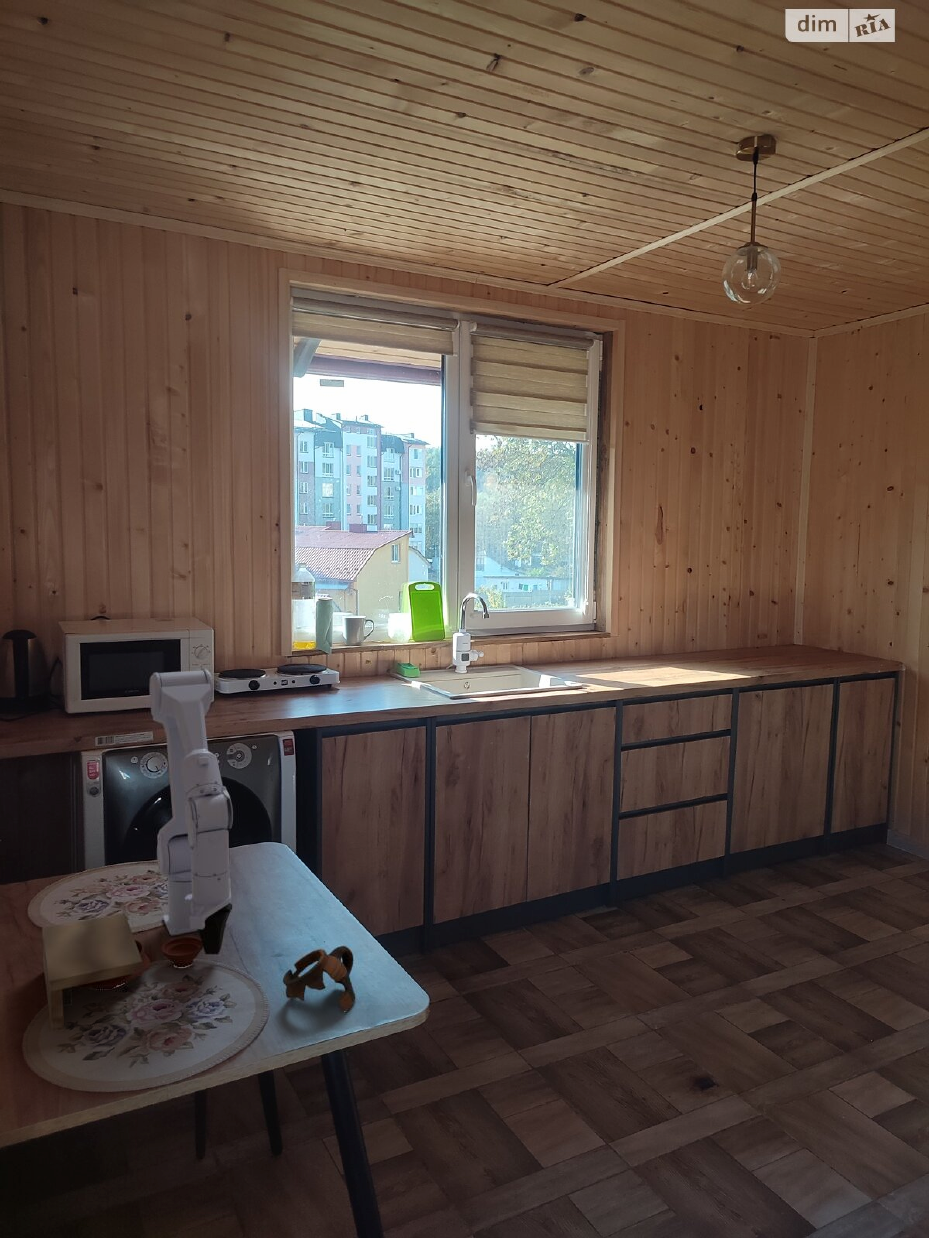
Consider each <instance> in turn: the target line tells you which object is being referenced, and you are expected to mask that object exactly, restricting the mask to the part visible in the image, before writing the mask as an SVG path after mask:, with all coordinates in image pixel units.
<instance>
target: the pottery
mask: <svg viewBox="0 0 929 1238" xmlns="http://www.w3.org/2000/svg"><path fill="white" fill-rule="evenodd" d="M134 940H135V943H136V945H137V948H138V951H139V954H140V956H141V959H142V967H143V972H138V973H133V974H129V975H124V976H120V977H115V978H110V979H106V980H101V981H96V982H92V983H87V984H83V985H78V986H77V987H79V988H84V989H91V990H95V989H97V990H96V991H105V990H104V989H111V990H113V989H112V988H114V987H116V986H117V985H121V984H123V983H125V984H127V983H128V982H130V981H133V980H135V979H136V978H138V977H140V976H142V975H143V974H144V973H145V972H146V971H147V970H148V968H149V966H150V964H151V960H150V958H149V956H148V955H147V954H146V953H145V952H144V951H145V947H144V945H143V943H142V942H141V941H139V940H137V939H134ZM203 949H204V948H203V945H202V941H201V938H200V937H196V936H181V937H176V938H173V939H170V940H168V941H165V943H164V944H163V945H162V946H161V952H162V954H163V955H164V956H165V957H166V958H167V959H168V960H169V962H172V963H173V966H174V965H175V966H177V967H185V966H188V965H191V964H192V963H193V964H194V960H195V959H196V958H197V957H198V955H199V954H200V953H201V952H202V950H203ZM126 982H127V983H126ZM100 989H101V990H100ZM102 989H103V990H102Z"/></svg>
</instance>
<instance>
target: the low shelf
mask: <svg viewBox="0 0 929 1238" xmlns="http://www.w3.org/2000/svg"><path fill="white" fill-rule="evenodd" d="M41 932H42V933H41V934H42V956H43V975H44V980H45V981H44V982H45V988H46V989H45V990H46V999H47V1005H48V1013H49V1019H50V1027H51V1030H57V1029H61V1028H63V1027H65V1026H64V1008H63V1007H65V1006H70V1005H72V1004H73V1001H72V1000H73V999H72V987H79V986H78V985H83V984H87V983H92V982H96V981H101V980H106V979H110V978H115V977H120V976H124V975H129V974H133V973H138V972H143V967H142V959H141V956H140V954H139V951H138V948H137V945H136V943H135V940H136V939H135V937H134V934H133V932H132V929H131V926H130V924H129V921H128V918H127V916H126V913H125V912H121V913H117V914H112V915H106V916H102V917H96V918H91V919H85V920H80V921H75V922H69V923H63V924H58V925H54V926H47V927H42V928H41Z"/></svg>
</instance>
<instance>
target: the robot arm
mask: <svg viewBox="0 0 929 1238" xmlns="http://www.w3.org/2000/svg"><path fill="white" fill-rule="evenodd" d="M213 681H214V680H213V676H212V673H211V672H210V671H209V670H208V669H207V668H206V669H205V668H203V669H201V670H200V669H199V670H188V671H187V670H186V671H171V672H153V673H152V675H150V678H149V699H150V712H151V716H152V720H153V721H154V722H157V723H160V724H162V725H163V729H164V732H165V736H166V746H167V749H166V750H167V760H168V773H169V784H170V785H169V786H170V788H169V789H170V797H171V811H172V812H171V813H172V818H171V819H170V820H169V821H168V822H167V823H166V824H164V825H163V826H162V828H160V829H159V830H158V833H157V847H156V860H157V867H158V871H159V874H160V875H162V876H163V877H164V878H165V877H166V879H167V903H168V904H167V906H168V907H167V908H168V909H167V910H168V914H164V915H163V916H162V919H163V922H164V924H165V927H166V928H167V930H168V932H169V935H171V936H178V935H183V934H188V933H192V932H197V933H198V935H199V938H200V939H201V941H202V945H203V948H202V949H203V950H204V954H205V955H219V953H220V952H221V950H222V945H223V941H224V940H223V939H224V934H225V929H226V925H228V918H229V916H230V914H231V912H232V910H233V904H232V903H231V901H232V892H231V890H232V882H231V881H232V880H231V878H230V848H229V847H230V846H229V843H230V842H229V829H232V827H233V821H234V820H233V819H234V812H233V804H232V800H231V796H230V794H229V792H228V790H227V787H226V786H224V785H223V781H222V780H223V779H222V776H221V772H220V766H219V761H218V757H217V755H216V754H214V753H213V752H211V751H209V748H208V747H209V745H208V740H207V739H208V738H207V728H206V719H205V717H206V715H207V713H208V711H209V710H210V706H211V703H212V701H213V699H214V682H213ZM185 834H187V835H186V836H179V835H185ZM175 836H179V837H175Z"/></svg>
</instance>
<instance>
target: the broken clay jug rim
mask: <svg viewBox="0 0 929 1238" xmlns="http://www.w3.org/2000/svg"><path fill="white" fill-rule="evenodd" d="M314 963H315V964H314ZM311 965H313V966H312V967H311V968H310V969H309V970H308V971H306V972H305V973H303V971H305V970H306V968H308V967H309V966H311ZM293 966H294V968H295V971H294V972H293V971H292V969H288V970H287V972H285V975H283V978H282V982H283V984H284V985H285V996H286V998H287V999H295V998H298V1000H300V1001H301V1002H305V992H306V988H309V989H311V990H317V991H323V990H325V989H326V987H327V986H326V985H325V983H324V973H326V975H328V976H329V978H330V979H331V980H333V981H334V983H336V984H340V985H342V986H343V988H344V989H343V990H344V991H343V994H341V996H340V998H338V1000H337V1002H338V1004H339V1006H341V1010H342V1012H343V1011H346V1010H347V1011H348V1009H351V1007H352V1006H353V1004H354V1002H355V1000H356V994H355V991H354V987H353V985H352V981H351V978H350V977H351V976H350V974H351V972H352V969H353V967H354V954H353V952H352V950H351V949H350V948H349V947H348V946H345V945H342V946H337V947H335V948H334V949H333V950H331V952H330V953H327V952H326V950H325V949H322V948H320V949H315V950H312V951H310V952H308V953H307V954H306V955H304V956H302V957H301V958H299V960H297V961H296V962H295V963H294V964H293ZM301 973H303V974H302V975H301V976H299V975H300V974H301ZM347 1011H346V1012H347Z"/></svg>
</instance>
